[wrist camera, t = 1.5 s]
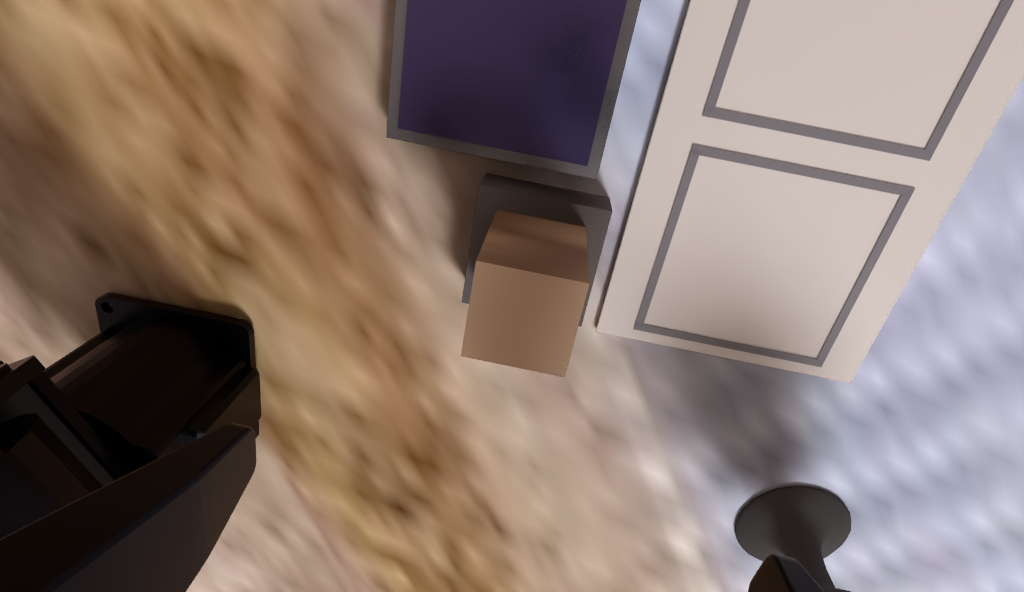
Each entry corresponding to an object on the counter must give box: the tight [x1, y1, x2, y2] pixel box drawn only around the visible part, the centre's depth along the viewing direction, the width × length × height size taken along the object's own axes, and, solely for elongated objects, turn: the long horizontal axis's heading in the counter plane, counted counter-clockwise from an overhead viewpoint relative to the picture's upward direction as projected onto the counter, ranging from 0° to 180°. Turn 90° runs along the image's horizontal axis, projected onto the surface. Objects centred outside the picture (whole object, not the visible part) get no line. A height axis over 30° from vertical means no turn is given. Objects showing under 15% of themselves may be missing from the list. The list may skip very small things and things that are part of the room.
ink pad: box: [386, 0, 641, 179], centre depth 16 cm, size 7×8×1 cm
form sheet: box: [596, 0, 1024, 383], centre depth 18 cm, size 10×16×1 cm, turn 170°
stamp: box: [461, 173, 612, 377], centre depth 18 cm, size 4×4×6 cm
